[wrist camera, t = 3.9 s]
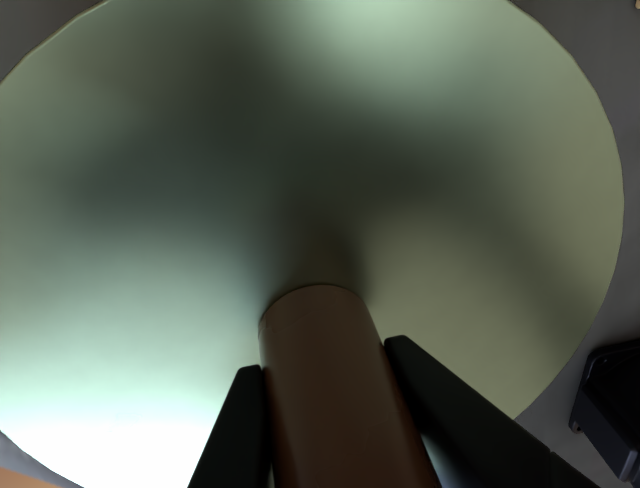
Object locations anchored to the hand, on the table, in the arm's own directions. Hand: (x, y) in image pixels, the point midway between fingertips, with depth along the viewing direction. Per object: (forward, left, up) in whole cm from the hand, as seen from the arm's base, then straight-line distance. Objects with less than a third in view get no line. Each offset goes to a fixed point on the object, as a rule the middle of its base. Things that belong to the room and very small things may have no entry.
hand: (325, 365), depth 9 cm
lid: (0, 0, -2) cm, 2 cm away
